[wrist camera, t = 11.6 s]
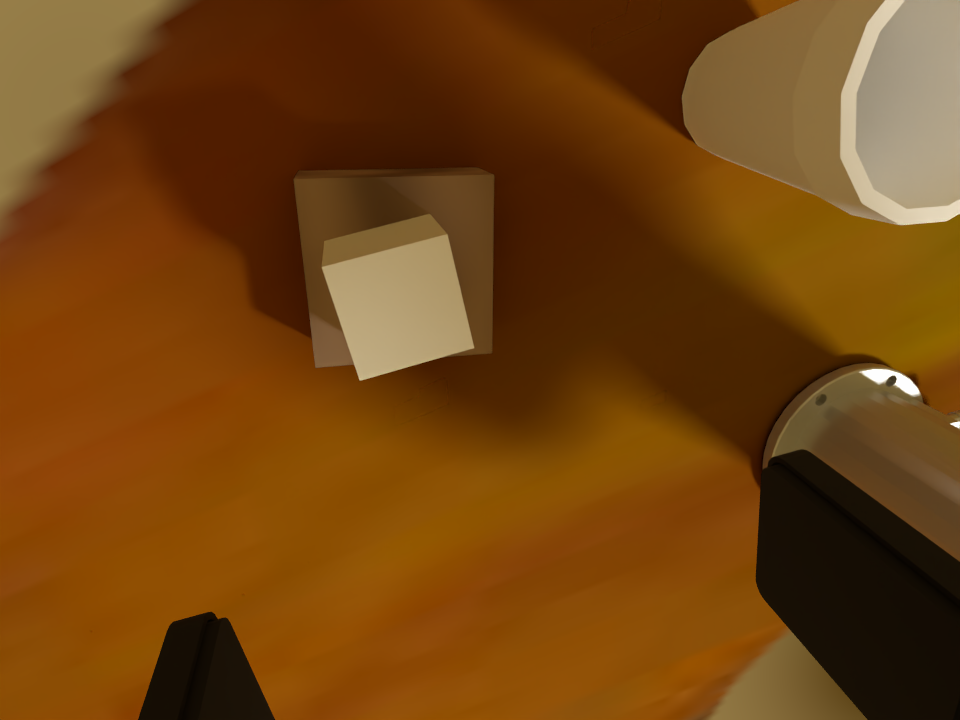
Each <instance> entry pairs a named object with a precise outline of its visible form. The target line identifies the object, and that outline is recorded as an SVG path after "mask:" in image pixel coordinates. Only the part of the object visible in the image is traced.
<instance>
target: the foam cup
mask: <svg viewBox="0 0 960 720" xmlns="http://www.w3.org/2000/svg"><path fill="white" fill-rule="evenodd" d="M682 106H683V116H684V125H685V126H686V128H687V130H688V131H689V133H690V135H691V136H692V138H693V140H694V141H695V143H696V145H698V146H699V147H701V148H703V149H705V150H707V151H709V152H710V153H712V154H714V155H716V156H719V157H721V158H723V159H725V160H728V161H730V162H733V163H735V164H738V165H740V166H743V167H746V168H748V169H751V170H753V171H756V172H758V173H761V174H763V175H766V176H768V177H771V178H773V179H776V180H779V181H781V182H784V183H786V184H789V185H791V186H794V187H796V188H799V189H801V190H804V191H806V192H809V193H811V194H814V195H817V196H818V197H820V198H822V199H824V200H826V201H827V202H829V203H831V204H833V205H835V206H836V207H838V208H840V209H842V210H844V211H845V212H847V213H849V214H851V215H854V216H859V217H864V218H868V219H873V220H878V221H883V222H887V223H892V224H897V225H908V224H920V223H931V222H943V221H948V220H949V219H951V218H953V217H955V216H956V215H958V214H960V0H799V1H797V2H795V3H792V4H790V5H788V6H786V7H783V8H781V9H779V10H776V11H774V12H772V13H769V14H767V15H765V16H762V17H760V18H758V19H756V20H753V21H751V22H749V23H746V24H744V25H742V26H739V27H737V28H736V29H734V30H731V31H729V32H728V33H726V34H724V35H722V36H721V37H719V38H717V39H716V40H714V41H712V42H710V43H709V44H707V46H706V47H705V48H704V50H703V51H702V52H701V54H700V55H699V56H698V58H697V59H696V60H695V62H694V63H693V64H692V66H691V67H690V69H689V73H688V76H687V80H686V83H685V87H684V90H683V94H682Z"/></svg>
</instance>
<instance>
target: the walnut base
mask: <svg viewBox="0 0 960 720" xmlns="http://www.w3.org/2000/svg"><path fill="white" fill-rule="evenodd" d="M294 188H295V197H296V205H297V214H298V222H299V231H300V240H301V248H302V257H303V265H304V274H305V283H306V291H307V300H308V308H309V317H310V326H311V334H312V343H313V352H314V360H315V368H319V367H331V366H343V365H354V362H353V359H352V356H351V353H350V350H349V347H348V344H347V342H346V339H345V336H344V333H343V330H342V327H341V324H340V321H339V318H338V315H337V312H336V309H335V306H334V303H333V300H332V297H331V294H330V291H329V288H328V285H327V282H326V279H325V276H324V273H323V270H322V258H323V249H324V241H326V240H330V239H334V238H338V237H342V236H345V235H349V234H353V233H357V232H361V231H365V230H369V229H373V228H376V227H380V226H384V225H388V224H392V223H396V222H400V221H404V220H407V219H411V218H415V217H419V216H423V215H427V214H430V215H431V216H432V217H433V218H434V219H435V220H436V221H437V223H438V224H439V225H440V226H441V227H442V228H443V230H444V231H445V232H446V233H447V234H448V239H449V243H450V247H451V251H452V256H453V260H454V264H455V268H456V273H457V277H458V281H459V285H460V289H461V294H462V298H463V302H464V306H465V311H466V315H467V319H468V323H469V328H470V332H471V336H472V340H473V344H474V348H473V349H469V350H466V351H462V352H459V353H455V354H452V355H448V356H445V357H453V356H465V355H477V354H489V353H492V329H493V244H494V174H492V173H489V172H487V171H485V170H483V169H481V168H478V167H466V168H412V169H358V170H304V171H298V172H297V174H296V175H295V177H294Z"/></svg>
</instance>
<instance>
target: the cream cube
mask: <svg viewBox="0 0 960 720" xmlns="http://www.w3.org/2000/svg"><path fill="white" fill-rule="evenodd" d="M322 270H323V273H324V276H325V279H326V282H327V285H328V288H329V291H330V294H331V297H332V300H333V303H334V306H335V309H336V312H337V315H338V318H339V321H340V324H341V327H342V330H343V333H344V336H345V339H346V342H347V344H348V347H349V350H350V353H351V356H352V359H353V362H354V365H355V368H356V371H357V374H358V377H359V380H360V381H361V380H365V379H368V378H372V377H375V376H379V375H382V374H386V373H389V372H393V371H396V370H400V369H403V368H407V367H410V366H414V365H417V364H421V363H424V362H428V361H431V360H435V359H438V358H441V357H445V356H448V355H452V354H455V353H459V352H462V351H466V350H469V349H473V348H474V344H473V340H472V336H471V332H470V328H469V323H468V319H467V315H466V311H465V306H464V302H463V298H462V294H461V289H460V285H459V281H458V277H457V273H456V268H455V264H454V260H453V256H452V251H451V247H450V243H449V239H448V234H447V233H446V232H445V231H444V230H443V228H442V227H441V226H440V225H439V224H438V223H437V221H436V220H435V219H434V218H433V217H432V216H431V215H430V214H427V215H423V216H419V217H415V218H411V219H407V220H404V221H400V222H396V223H392V224H388V225H384V226H380V227H376V228H373V229H369V230H365V231H361V232H357V233H353V234H349V235H345V236H342V237H338V238H334V239H330V240H326V241H324V249H323V258H322Z"/></svg>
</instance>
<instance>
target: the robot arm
mask: <svg viewBox="0 0 960 720" xmlns="http://www.w3.org/2000/svg"><path fill="white" fill-rule="evenodd" d="M762 467H763V471H762V474H761V490H760V509H759V527H758V546H757V564H756V583H757V587H758V589H759V592H760V594H761V595H762V597H763V598H764V600H765V601H766V602H767V603H768V605H769V606H770V607H771V608H772V609H773V610H774V612H775V613H776V614H777V615H778V616H779V617H780V618H781V620H782V621H783V622H784V623H785V624H786V625H787V627H788V628H789V629H790V630H791V631H792V632H793V633H794V635H795V636H796V637H797V638H798V639H799V640H800V642H801V643H802V644H803V645H804V646H805V647H806V649H807V650H808V651H809V652H810V653H811V654H812V656H813V657H814V658H815V659H816V660H817V661H818V663H819V664H820V665H821V666H822V667H823V668H824V670H825V671H826V672H827V673H828V674H829V675H830V676H831V678H832V679H833V680H834V681H835V682H836V683H837V685H838V686H839V687H840V688H841V689H842V690H843V692H844V693H845V694H846V695H847V696H848V697H849V698H850V700H851V701H852V702H853V703H854V704H855V705H856V707H857V708H858V709H859V710H860V711H861V712H862V713H863V715H864V716H865V717H866V718H867V719H868V720H960V410H958V411H954V412H951V413H948V414H947V415H945V414H943V413H941V412H939V411H937V410H935V409H933V408H931V407H929V406H927V405H925V404H923V399H922V396H921V394H920V391H919V389H918V387H917V386H916V385H915V383H914V382H913V381H912V380H911V379H910V378H909V377H907V376H906V375H904V374H903V373H901V372H899V371H897V370H895V369H892V368H890V367H888V366H885V365H882V364H875V363H861V364H854V365H850V366H846V367H842V368H839V369H837V370H835V371H833V372H830V373H828V374H826V375H824V376H823V377H821V378H820V379H818V380H816V381H815V382H813V383H812V384H810V385H809V386H808V387H807V388H805V389H804V390H803V391H802V392H801V393H800V394H798V395H797V396H796V397H795V398H794V399H793V401H792V402H791V403H790V404H789V405H788V406H787V407H786V408H785V410H784V411H783V413H782V414H781V416H780V417H779V419H778V420H777V421H776V423H775V425H774V427H773V429H772V431H771V433H770V435H769V437H768V441H767V444H766V447H765V451H764V456H763V466H762ZM138 720H275V719H274V717H273V715H272V712H271V710H270V708H269V706H268V704H267V701H266V699H265V697H264V695H263V693H262V691H261V688H260V686H259V684H258V682H257V680H256V678H255V675H254V673H253V671H252V669H251V667H250V665H249V662H248V660H247V658H246V656H245V654H244V652H243V649H242V647H241V645H240V643H239V641H238V639H237V636H236V634H235V632H234V630H233V628H232V626H231V623H230V622H229V620H228V619H227V618H221V619H217V617H216V616H215V614H214V613H212V612H207V613H204V614H200V615H196V616H193V617H189V618H185V619H182V620H178V621H174V622H173V623H172V624H171V625H170V626H169V628H168V630H167V633H166V636H165V639H164V642H163V645H162V648H161V651H160V655H159V658H158V661H157V664H156V667H155V670H154V673H153V676H152V679H151V682H150V685H149V688H148V691H147V694H146V697H145V700H144V703H143V706H142V709H141V712H140V716H139V719H138Z"/></svg>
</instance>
